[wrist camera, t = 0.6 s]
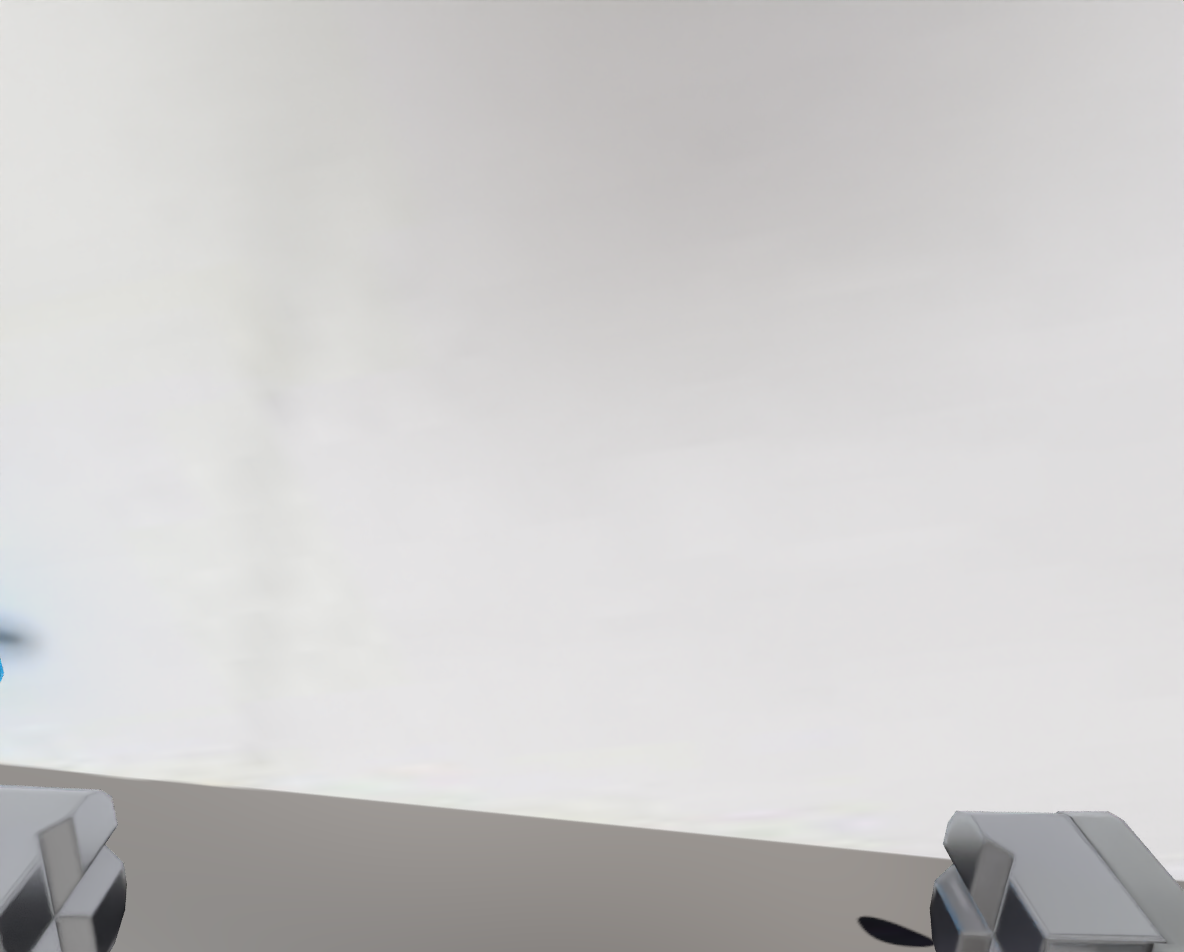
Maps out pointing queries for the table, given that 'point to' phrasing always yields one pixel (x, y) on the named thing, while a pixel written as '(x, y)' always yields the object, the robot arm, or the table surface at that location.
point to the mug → (1, 671)
